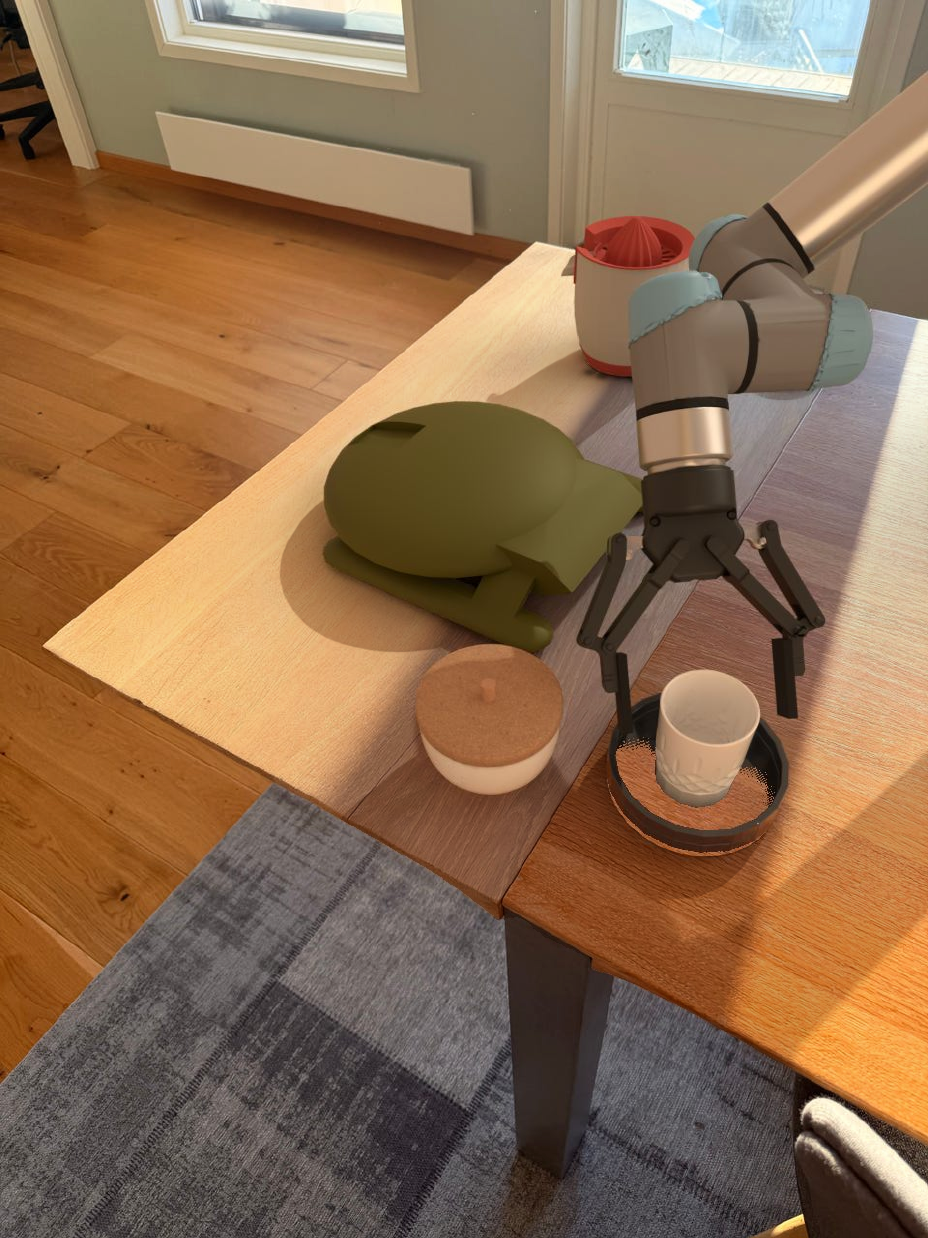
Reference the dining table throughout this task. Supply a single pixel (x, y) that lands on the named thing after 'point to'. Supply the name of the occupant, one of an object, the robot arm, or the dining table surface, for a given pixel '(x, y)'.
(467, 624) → the spaceship
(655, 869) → the dining table surface
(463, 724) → the lidded bowl
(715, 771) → the white cup
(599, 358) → the citrus juicer
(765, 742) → the dark grey round dish
